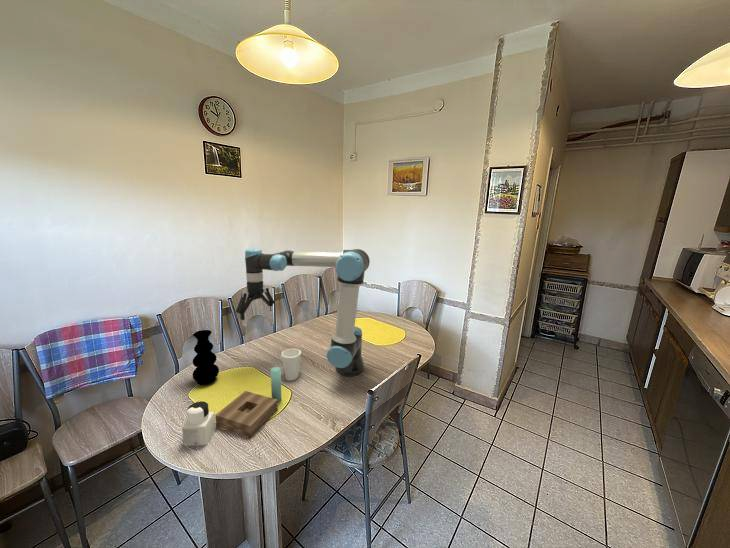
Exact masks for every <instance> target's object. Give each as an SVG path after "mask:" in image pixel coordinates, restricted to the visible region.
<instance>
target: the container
mask: <svg viewBox="0 0 730 548" xmlns="http://www.w3.org/2000/svg"><path fill="white" fill-rule="evenodd" d="M209 410H210V409H209V404H208V403H207V402H206V401H202V400H201V401H195V402H193V403H191V404H190V405H189V406H188V407H187V408H186V417H187V420H186V421H185V422H184V424H183V425H182V426H181V431H182V439H183V446H184V447H188V446H189V447H190V446H206V445H207V446H208V443H209V442H210V440H211V439H212V436H213V435H214V434H215V431H216V429H217V427H216V419H215V415H216V414H215V411H209Z"/></svg>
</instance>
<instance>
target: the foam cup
mask: <svg viewBox="0 0 730 548" xmlns="http://www.w3.org/2000/svg"><path fill="white" fill-rule="evenodd" d="M280 354H281V355H280V359H281V361H282V368H283V372H284V379H285V380H286V381H295V380H297V379H298V378H299V374H300V365H301V359H302V351H301V350H300V349H298V348H287V349H284V350H282V352H281V353H280Z"/></svg>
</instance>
